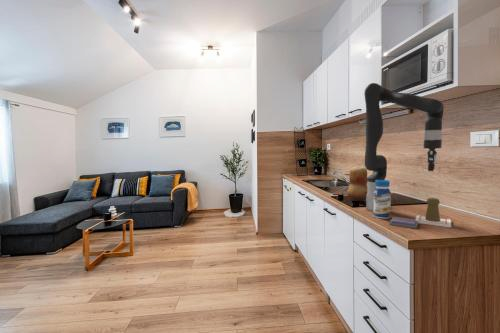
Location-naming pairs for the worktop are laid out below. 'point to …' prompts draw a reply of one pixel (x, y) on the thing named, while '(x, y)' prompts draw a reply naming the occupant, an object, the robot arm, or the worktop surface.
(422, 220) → the marked board
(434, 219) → the olive rounded piece
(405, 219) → the ink pad
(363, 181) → the butternut squash
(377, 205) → the beverage bottle
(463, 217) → the worktop surface
